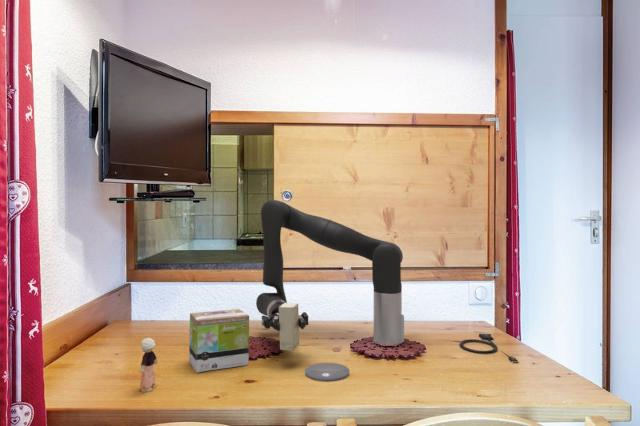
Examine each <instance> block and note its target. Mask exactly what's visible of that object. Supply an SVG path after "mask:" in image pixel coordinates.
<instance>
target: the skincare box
mask: <svg viewBox="0 0 640 426" xmlns="http://www.w3.org/2000/svg"><path fill="white" fill-rule="evenodd" d="M299 313H300V312H299V303H298V302H287V303H284V304H282V305H281V306H280V307H279V323H280V331H278V332H279V350H280V351H295V350H296V349H297V348H298V347H299V346H300V327H299V315H300V314H299Z"/></svg>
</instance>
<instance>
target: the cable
mask: <svg viewBox="0 0 640 426" xmlns="http://www.w3.org/2000/svg"><path fill="white" fill-rule="evenodd" d="M478 338H480V339H476V338H475V339H472V338H471V339H463V340H461V341H460V342H459V344H458V345H459V347H460V348H461V349H462V350H465V351H467V352H469V353H473V354H481V355H483V354H484V355H486V354H487V355H490V354H495V353H496V352H497V351H498V347H497V344H495V343H494V342H493V341H494V337H492V334H491V333H479V334H478ZM468 343H479V344H484V345H487V346H489V347H492V349H490V350H477V349H473V348H472V349H471V348H469V347H467V346H465V344H468ZM500 352H501V353H503V354H504V355H505V356H506V357H508V358H507V359H508V360H509V362H510V363H512V364H520V362H519V361H518V359H517V358H515V357H514V356H512V355H511V356H509V355H508V354H507V353H505V352H504V351H502V350H500Z"/></svg>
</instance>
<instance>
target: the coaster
mask: <svg viewBox="0 0 640 426" xmlns="http://www.w3.org/2000/svg"><path fill="white" fill-rule="evenodd" d="M304 375H305V376H306V377H307V378H309V379H311V380H314V381H318V382H337V381H341V380H344V379H346V378H347V377H348V376H349V375H350V369H349V367H347V366H346V365H343V364H341V363H335V362H318V363H313V364H310V365H308V366H307V367H305V369H304Z"/></svg>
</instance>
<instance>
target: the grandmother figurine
mask: <svg viewBox="0 0 640 426" xmlns="http://www.w3.org/2000/svg"><path fill="white" fill-rule="evenodd" d="M154 348H156V343H155V340H154V339H153V338H150V337H146V338H143V339H142V340H141V349H142V352H143V353H144V354H143V356H142V360H141V363H140V369H139V372H140V374H141V375H140V378H139V379H140V380H139V388H141V389H140V391H141V392H142V393H149V392H152V391H153V389H155V388H157V384H156V374H155V373H156V372H155V368H154V365H157V364H158V359H157V356H156V354H155V352H154Z"/></svg>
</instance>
